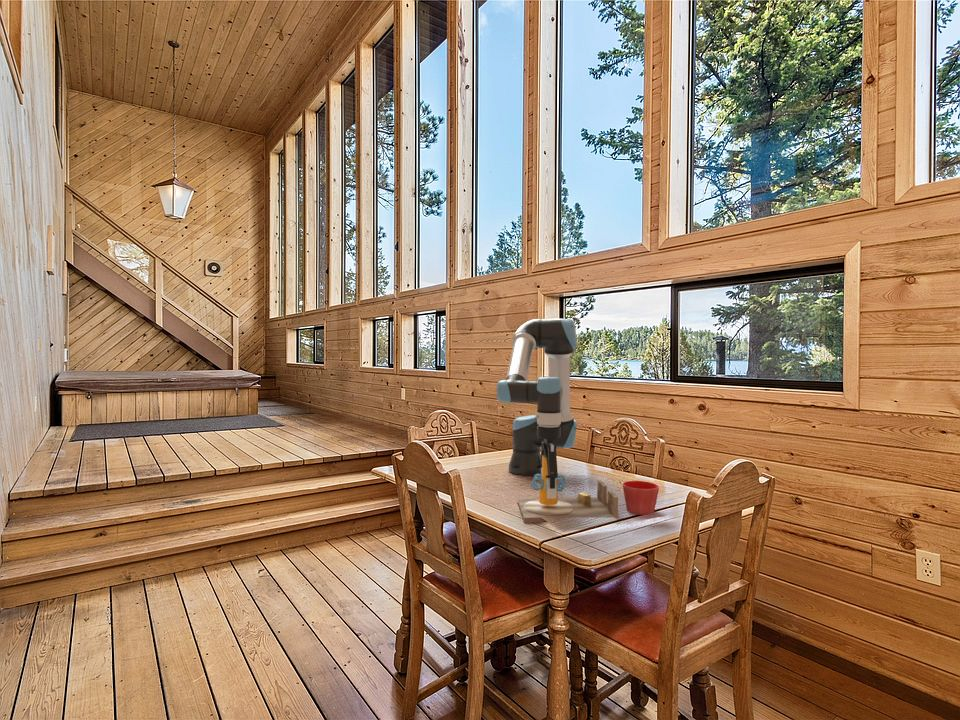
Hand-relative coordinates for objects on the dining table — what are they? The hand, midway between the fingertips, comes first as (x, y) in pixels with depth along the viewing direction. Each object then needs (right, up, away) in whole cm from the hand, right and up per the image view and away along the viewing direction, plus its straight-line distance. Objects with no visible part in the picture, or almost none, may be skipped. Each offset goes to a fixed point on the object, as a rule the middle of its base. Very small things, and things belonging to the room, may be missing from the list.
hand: (548, 492), depth 170 cm
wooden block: (+12, -5, +4) cm, 14 cm away
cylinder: (0, -3, 0) cm, 3 cm away
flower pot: (+29, -7, -3) cm, 30 cm away
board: (+6, -6, 0) cm, 8 cm away
